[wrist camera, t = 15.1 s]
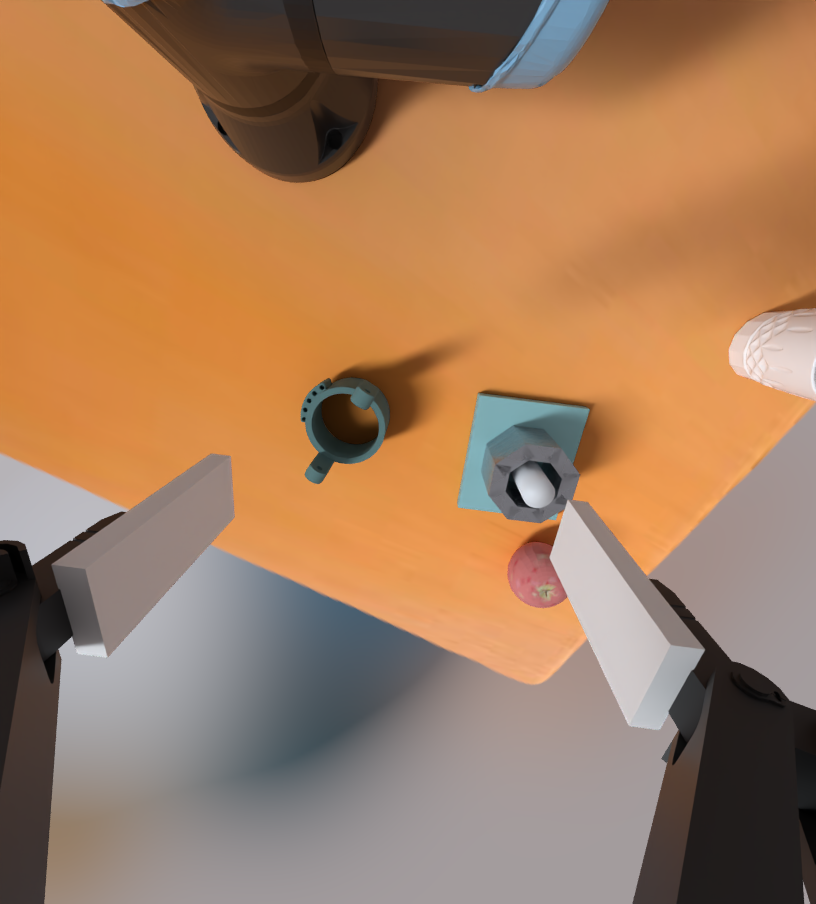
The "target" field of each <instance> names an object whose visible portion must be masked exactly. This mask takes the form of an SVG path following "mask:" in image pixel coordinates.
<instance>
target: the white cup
mask: <svg viewBox="0 0 816 904" xmlns="http://www.w3.org/2000/svg"><path fill="white" fill-rule="evenodd" d="M729 364H730V366H731V367H732V368H733V370H734V371H735V373H736V374H737V375H740V376H742V377H745V378H747V379H750V380H753V381H757V382H760V383H761V384H762V385H765V386H769V387H772V388H774V389H777V390H781V391H784V392H786V393H789V394H793V395H796V396H799V397H803V398H806V399H809V400H812V401H816V308H812V309H796V310H793V311H775V312H767V313H762V314H760V315H759V316H757V317H755V318H753V319H751V320H749V321H747V322H746V323H745V324H744V326H743V327H742V328H741V329H740V330H739V331H738V332H737V333H736V334H735V336H734V338H733V340H732V343H731V345H730V348H729Z"/></svg>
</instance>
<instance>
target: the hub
mask: <svg viewBox="0 0 816 904" xmlns="http://www.w3.org/2000/svg"><path fill="white" fill-rule="evenodd" d="M528 460H530V461H538V462H543V464H542V468H541V469H542V471H543V472H544V474H545V475H546V477H547V478H548V480H549V481H550V482H551V484H552V485H553V487H554V489H555V496H554V499H553V500H552V502H551V503H550V504H548V505H547V506H545V507H542V508H533V507H530V506H528V505H527V504H526V503H525V502H524V500H523V498H522V495H521V493H520V491H519V489H518V487H517V485H516V483H515V482H511V481H508V478H509V474H510V472H512V471H513V470H515V469H516V468H518V467H519V466H521V465H522V464H524V463H525V462H527V461H528ZM481 473H482V476H483V480H484V483H485V486H486V489H487V493H488V496H489V497H490V498H491V499H492V501H493V502H494V503H495V504H496V506H497V507H498V508H499V509H500V511H501V512H502V513H503V514H504V515H505V517H506V518H507V519H510V520H519V521H527V522H535V523H542V522H543V521H545V520H547V519H549V518H550V517H552V516H554V515H555V514H557V513H559V512H560V511H562V510H564V509H565V507H566V504H567V501H568V500H572V499H573V496H574V493H575V489H576V486H577V483H578V480H579V476H580V474H579V473H578V471H577V470H576V468H575V467H574V466H573V464H572V463H571V461H570V460H569V458H568V457H567V456H566V454H565V453H564V451H563V450H562V448H561V447H560V446H559V445H558V444H557V443H556V442H555V441H554V440H553V439H552V437H551V436H550V435H549V434H548V433H547V432H546V431H545V430H544V429H538V428H530V427H522V426H511V427H510V428H508V429H507V430H505V431H504V432H502V433H501V434H499V435H498V436H496V437H495V438H494V439H492V440H491V441H489V442H488V443H486V448H485V453H484V458H483V463H482V468H481Z"/></svg>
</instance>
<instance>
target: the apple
mask: <svg viewBox="0 0 816 904" xmlns="http://www.w3.org/2000/svg"><path fill="white" fill-rule="evenodd" d="M552 548H553V546H551V545H549V544H546V543H541V542H530V543H527V544H524V545H523V546H521V547H520V548H519V549H518V550H516V552H515V553H514V554H513V556H512V558H511V560H510V562H509V565H508V580H509V584H510V587H511V589H512V591H513V592H514V594H515V595H516V596H517V597H518V598H519V599H520V600H521V601H523V602H524V603H526V604H528V605H530V606H533V607H538V608H547V607H552V606H555V605H557V604H559V603H561V602H562V601H563V600H564V599H566V598H567V594H566V592H565V590H564V588H563V585H562V583H561V581H560V579H559V577H558V575H557V573H556V571H555V569H554V566H553V564H552V562H551V560H550V555H551V551H552Z"/></svg>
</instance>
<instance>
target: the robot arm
mask: <svg viewBox="0 0 816 904" xmlns="http://www.w3.org/2000/svg"><path fill="white" fill-rule="evenodd" d="M101 1H102V2H104V3H105V4H106V5H107V6H108V7H109V8H110V9H111V10H112V11H113V12H115V13H116V14H117V15H118V16H119V17H120V18H121V19H122V20H123V21H124V22H126V23H127V24H128V25H129V26H130V27H131V28H132V29H133V30H134V31H135V32H136V33H138V34H139V35H140V36H141V37H142V38H143V39H144V40H145V41H146V42H147V43H148V44H150V45H151V46H152V47H153V48H154V49H155V50H156V51H157V52H158V53H159V54H160V55H162V56H163V57H164V58H165V59H166V60H167V61H168V62H169V63H170V64H171V65H172V66H173V67H175V68H176V69H177V70H178V71H179V72H180V73H181V74H182V75H183V76H184V77H185V78H187V79H188V80H189V81H190V82H191V83H192V84H193V86H194V88H195V90H196V92H197V94H198V96H199V99H200V101H201V103H202V105H203V107H204V109H205V111H206V113H207V115H208V117H209V119H210V121H211V122H212V124H213V126H214V127H215V129H216V130H217V131H218V133H219V134H220V135H221V137H222V138H223V139H224V141H225V142H226V143H227V144H228V145H229V146H230V147H231V148H232V149H233V150H234V151H235V152H236V153H237V154H238V155H239V156H240V157H242V158H243V159H244V160H245V161H247V162H248V163H249V164H251V165H252V166H253V167H255V168H256V169H258V170H259V171H261V172H262V173H264V174H266V175H268V176H270V177H273V178H276V179H278V180H282V181H287V182H296V183H298V182H310V181H315V180H318V179H321V178H324V177H326V176H328V175H330V174H332V173H333V172H335V171H336V170H338V169H339V168H341V167H342V166H343V165H344V164H345V163H346V162H347V161H348V160H349V159H350V158H351V157H352V156H353V154H354V153H355V152H356V150H357V149H358V148H359V146H360V144H361V143H362V141H363V139H364V137H365V135H366V133H367V131H368V128H369V126H370V123H371V120H372V116H373V113H374V108H375V103H376V97H377V84H378V78H379V79H391V80H403V81H415V82H426V83H438V84H450V85H462V86H469V89H470V90H471V91H473V92H479V93H480V92H484V91H487V90H489V89H491V88H514V89H532V88H537V87H540V86H543V85H545V84H546V83H547V82H548V81H550V80H551V79H552V78H553V77H555V76H557V75H559V74H560V73H561V72H562V71H563V70H564V69H565V68H566V67H567V66H568V65H569V64H570V63H571V61H572V60H573V59H574V58H575V56H576V55H577V54H578V52H579V51H580V49H581V48H582V47H583V45H584V44H585V42H586V40H587V39H588V37H589V36H590V34H591V32H592V31H593V29H594V27H595V26H596V24H597V22H598V20H599V19H600V17H601V15H602V13H603V12H604V10H605V8H606V6H607V4H608V2H609V0H101ZM234 517H235V515H234V500H233V484H232V469H231V456H226V455H218V454H210V455H208V456H207V457H206V458H204V459H203V460H201V461H200V462H198V463H197V464H195V465H194V466H193V467H191V468H190V469H188V470H187V471H185V472H184V473H182V474H181V475H180V476H178V477H177V478H175V479H174V480H172V481H171V482H169V483H168V484H167V485H165V486H164V487H162V488H161V489H159V490H158V491H157V492H155V493H154V494H152V495H151V496H149V497H148V498H146V499H145V500H144V501H142V502H141V503H139V504H138V505H136V506H135V507H133V508H132V509H131V510H129V511H128V512H119V513H117V514H114V515H112V516H109V517H107V518H104V519H102V520H100V521H99V522H97V523H96V524H94V525H93V526H91V527H90V528H88V529H87V530H86V532H82V533H81V534H79V535H78V536H76V537H75V538H73V541H69V542H67V543H66V544H64V545H63V546H61V547H60V548H58V549H57V550H55V551H54V552H52V553H51V554H49V555H48V556H46V557H45V558H43V559H42V560H40V561H38V562H37V563H35V564H34V565H31V562H30V559H29V555H28V552H27V549H26V546H25V544H23V543H21V542H19V541H8V540H3V541H0V904H44V899H45V898H44V897H45V885H46V870H47V856H48V842H49V828H50V814H51V799H52V785H53V771H54V770H53V769H54V756H55V742H56V727H57V714H58V700H59V686H60V671H61V657H60V654H59V650H58V649H59V648H60V647H61V646H62V645H63V644H64V643H65V642H66V641H67V640H69V639H70V638H71V637H73V641H74V644H75V647H76V651H77V654H83V655H92V656H99V657H106V658H107V657H109V656H110V654H111V653H112V652H113V651H114V650H115V649H116V648H117V647H118V646H119V644H120V643H121V642H122V641H123V640H124V639H125V638H126V637H127V636H128V634H129V633H130V632H131V631H132V630H133V629H134V628H135V627H136V625H138V623H139V622H140V621H141V620H142V619H143V618H144V617H145V615H146V614H147V613H148V612H149V611H150V610H151V609H152V608H153V607H154V606H155V605H156V603H157V602H158V601H159V600H160V599H161V598H162V597H163V596H164V595H165V593H166V592H167V591H168V590H169V589H170V588H171V587H172V585H174V584H175V583H176V581H177V580H178V579H179V578H180V577H181V576H182V575H183V574H184V573H185V571H186V570H187V569H188V568H189V567H190V566H191V565H192V564H193V563H194V562H195V560H196V559H197V558H198V557H199V556H200V555H201V554H202V553H203V552H204V550H205V549H206V548H207V547H208V546H209V545H210V544H211V543H212V542H213V541H214V539H215V538H216V537H217V536H218V535H219V534H220V533H221V532H222V531H223V529H224V528H225V527H226V526H227V525H228V524H229V523H230V522H231V521H232V520H233V518H234ZM550 560H551V562H552V564H553V566H554V569H555V571H556V573H557V575H558V577H559V579H560V581H561V583H562V585H563V588H564V590H565V592H566V594H567V596H568V598H569V600H570V602H571V604H572V607H573V609H574V611H575V613H576V615H577V617H578V619H579V621H580V624H581V626H582V628H583V630H584V632H585V634H586V636H587V638H588V640H589V643H590V645H591V646H592V649H593V651H594V653H595V655H596V657H597V659H598V662H599V664H600V666H601V667H602V670H603V672H604V674H605V676H606V678H607V680H608V683H609V685H610V687H611V689H612V691H613V693H614V695H615V697H616V700H617V702H618V704H619V706H620V708H621V710H622V712H623V714H624V716H625V719H626V721H627V723H628V725H629V726H633V727H640V728H648V729H656V730H660V728H661V727H662V725H663V723H664V721H665V720H666V718H667V716H668V714H670V715H671V717H672V719H673V721H674V722H675V724H676V726H677V728H678V729H679V730H678V732H677V734H676V735H675V737H674V739H673V740H672V742H671V744H670V745H669V747H668V749H667V750H666V752H665V754H664V755H663V757H662V760H664V761H665V762H667V766H666V770H665V774H664V778H663V783H662V787H661V790H660V794H659V799H658V803H657V807H656V811H655V815H654V819H653V823H652V827H651V831H650V835H649V839H648V843H647V847H646V851H645V855H644V859H643V863H642V867H641V871H640V876H639V880H638V884H637V888H636V892H635V896H634V900H633V904H804V893H803V882H804V885H805V888H806V891H807V894H808V898H809V901H810V904H816V710H813V709H810V708H808V707H805V706H803V705H800V704H797V703H794V702H792V701H789V699H788V698H787V697H786V696H785V694H784V693H783V692H782V691H781V689H780V688H779V687H777V686H776V685H775V684H774V683H773V682H772V681H770V680H769V679H768V678H767V677H765V676H764V675H762V674H760V673H759V672H757V671H756V670H754V669H752V668H750V667H747V666H745V665H743V664H741V663H737V662H732V661H731V660H730V659H729V657H728V656H727V655H726V654H725V653H724V651H723V650H722V649H721V648H720V647H719V645H718V644H717V643H716V642H715V641H714V639H713V638H712V637H711V636H710V635H709V634H708V632H707V631H706V630H705V629H704V628H703V627H702V625H701V624H700V623H699V622H698V621H696V620H695V617H694V616H693V615H692V613H691V612H690V611H689V610H688V609H686V608H685V605H684V604H683V603H682V602H681V601H680V599H679V598H678V597H677V596H676V594H675V593H674V592H672V591H671V590H670V589H669V588H667V587H666V586H665V585H663V584H662V583H660V582H659V581H658V580H654V579H648V577H647V576H646V575H645V574H644V572H643V571H642V570H641V569H640V567H639V566H638V565H637V563H636V562H635V561H634V560H633V558H632V557H631V556H630V555H629V553H628V552H627V551H626V550H625V548H624V547H623V546H622V545H621V543H620V542H619V541H618V540H617V538H616V537H615V536H614V535H613V533H612V532H611V531H610V530H609V528H608V527H607V526H606V525H605V523H604V522H603V521H602V520H601V518H600V517H599V516H598V515H597V513H596V512H595V511H594V510H593V508H592V507H591V506H590V504H589V503H588V502H583V501H575V500H568V501H567V504H566V507H565V510H564V513H563V517H562V520H561V523H560V526H559V529H558V532H557V536H556V539H555V542H554V545H553V548H552V551H551V555H550Z"/></svg>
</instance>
